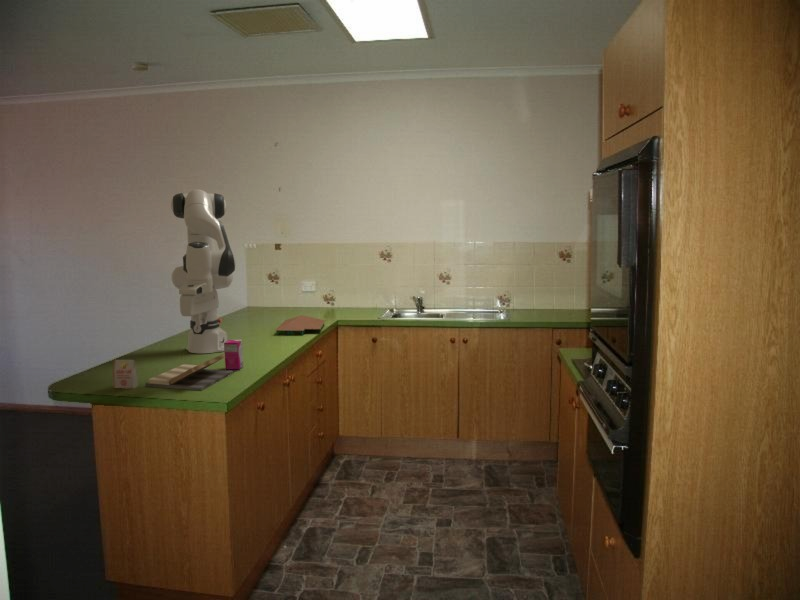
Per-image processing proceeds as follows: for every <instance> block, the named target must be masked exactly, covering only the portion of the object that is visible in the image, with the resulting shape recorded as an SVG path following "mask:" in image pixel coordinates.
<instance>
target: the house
mask: <svg viewBox="0 0 800 600" xmlns="http://www.w3.org/2000/svg"><path fill="white" fill-rule="evenodd" d="M326 321H327V320H326V319H321V318H316V317H312V316H308V315H303V314H301V315H299V316H295V317H291V318H287V319H285V320H284V321H283V322H282V323H281V324H280V325H279V326H277V328H276V329H275V330H274V331H276V336H279V335H280V333H282V332H285V336H293V335H294V332H301V336H303V335H304V334H305V333H306V331H314V330H319V332H322V330H323V328H324V326H325V323H326Z"/></svg>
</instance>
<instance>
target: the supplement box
mask: <svg viewBox="0 0 800 600" xmlns="http://www.w3.org/2000/svg"><path fill="white" fill-rule="evenodd" d="M223 352H224V365H225V366H224V367H225V370H227V371H234V370H239V371H241V370H242V369H243V368H244V367H243V366H244V353H243V339H228V341H226V342H225V343H224V351H223ZM242 367H243V368H242ZM241 368H242V369H241ZM240 369H241V370H240Z"/></svg>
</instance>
